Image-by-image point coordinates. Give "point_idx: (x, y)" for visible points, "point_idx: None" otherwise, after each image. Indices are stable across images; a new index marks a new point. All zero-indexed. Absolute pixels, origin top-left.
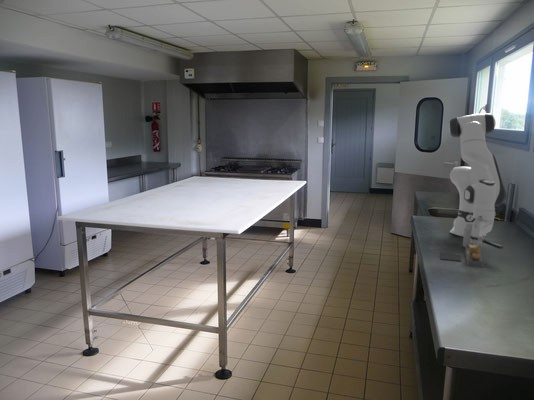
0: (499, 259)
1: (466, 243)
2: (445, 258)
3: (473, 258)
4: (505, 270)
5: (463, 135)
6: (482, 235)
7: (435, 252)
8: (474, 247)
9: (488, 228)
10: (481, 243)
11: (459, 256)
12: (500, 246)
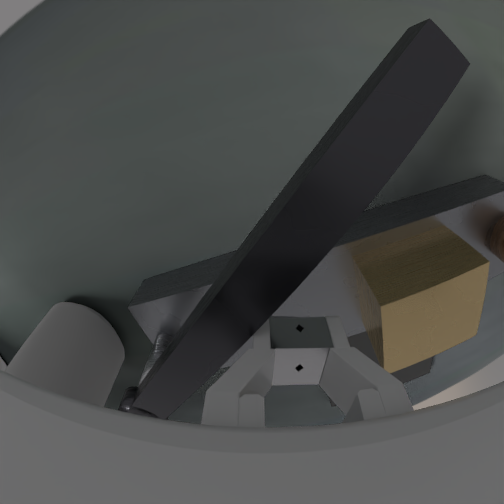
0: (197, 101)
1: (117, 372)
2: (426, 360)
3: None
4: (453, 42)
5: None
6: (495, 392)
7: (323, 413)
8: (469, 315)
9: (110, 499)
10: (338, 317)
11: (360, 337)
12: (462, 56)
